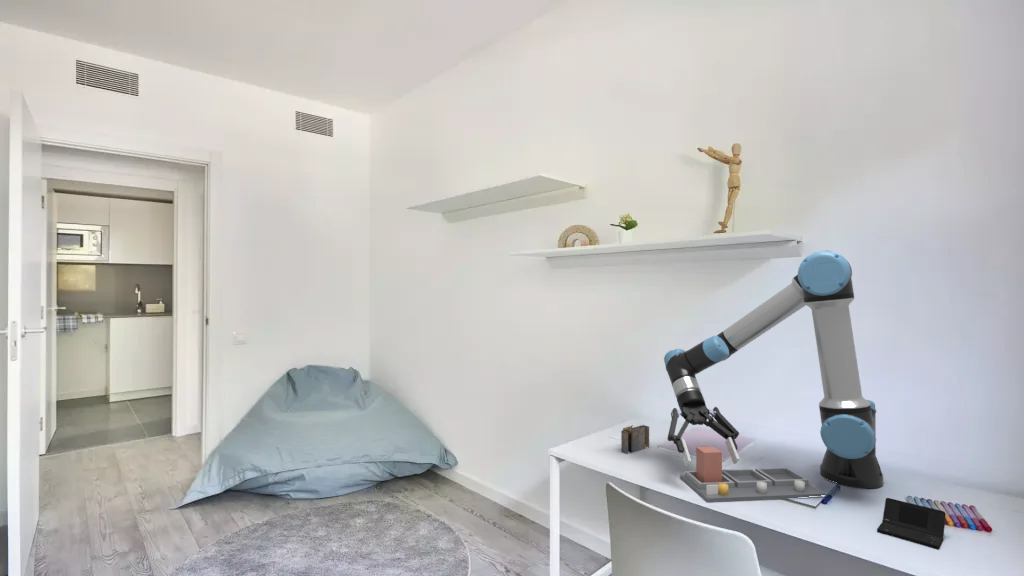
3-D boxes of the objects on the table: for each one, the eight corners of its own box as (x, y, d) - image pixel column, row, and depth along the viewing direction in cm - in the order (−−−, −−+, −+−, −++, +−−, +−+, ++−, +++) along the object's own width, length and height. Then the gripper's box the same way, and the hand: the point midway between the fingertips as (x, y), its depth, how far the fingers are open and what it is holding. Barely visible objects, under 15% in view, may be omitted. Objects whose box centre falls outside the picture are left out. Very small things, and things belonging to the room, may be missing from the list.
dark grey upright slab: (628, 455, 170) (628, 426, 170) (621, 453, 173) (621, 424, 173) (650, 449, 177) (650, 420, 177) (643, 447, 180) (643, 418, 180)
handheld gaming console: (877, 529, 114) (884, 486, 118) (875, 538, 119) (882, 496, 123) (944, 552, 107) (950, 506, 111) (939, 561, 112) (945, 516, 116)
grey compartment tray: (785, 473, 152) (785, 462, 152) (825, 497, 135) (825, 484, 135) (680, 477, 149) (680, 466, 149) (707, 502, 132) (707, 489, 132)
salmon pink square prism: (713, 478, 146) (713, 446, 146) (722, 485, 141) (722, 452, 141) (696, 479, 146) (696, 447, 146) (704, 485, 141) (704, 452, 141)
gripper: (724, 401, 160) (751, 467, 145) (645, 403, 158) (664, 470, 143) (733, 387, 154) (761, 454, 140) (651, 389, 152) (672, 457, 137)
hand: (712, 462), depth 141 cm, fingers open, 13 cm apart
